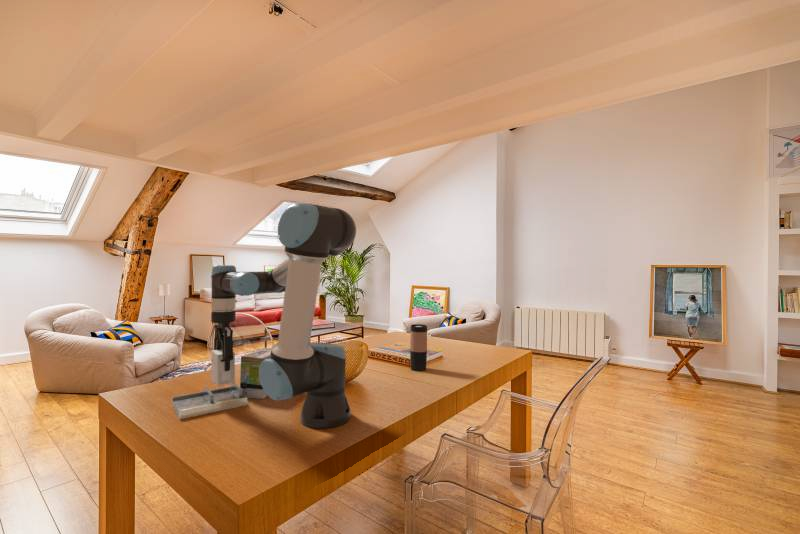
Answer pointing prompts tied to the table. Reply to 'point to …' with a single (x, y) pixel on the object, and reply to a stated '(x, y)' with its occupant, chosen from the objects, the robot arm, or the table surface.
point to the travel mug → (418, 347)
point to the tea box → (253, 373)
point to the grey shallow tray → (208, 401)
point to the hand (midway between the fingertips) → (222, 376)
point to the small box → (220, 368)
